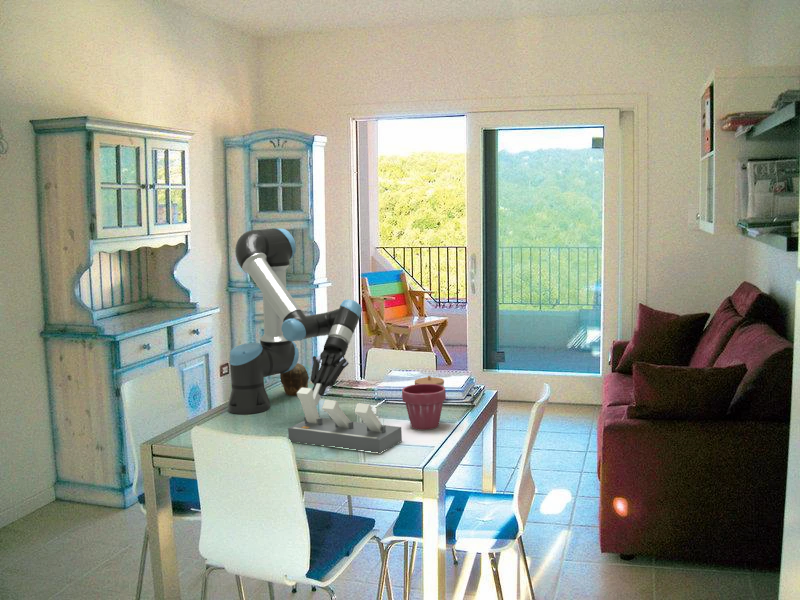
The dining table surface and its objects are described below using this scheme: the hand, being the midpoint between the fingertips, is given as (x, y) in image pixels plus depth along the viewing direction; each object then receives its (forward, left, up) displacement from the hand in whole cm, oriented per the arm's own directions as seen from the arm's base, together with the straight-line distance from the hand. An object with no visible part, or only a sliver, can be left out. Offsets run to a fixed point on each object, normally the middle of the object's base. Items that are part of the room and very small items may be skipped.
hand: (313, 403), depth 275 cm
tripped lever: (0, 0, -6) cm, 6 cm away
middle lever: (+10, -5, -6) cm, 12 cm away
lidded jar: (+40, +40, -12) cm, 57 cm away
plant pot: (+36, +8, -12) cm, 38 cm away
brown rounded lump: (-11, +60, -12) cm, 62 cm away
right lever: (+20, -11, -6) cm, 23 cm away
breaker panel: (+10, -5, -11) cm, 16 cm away
